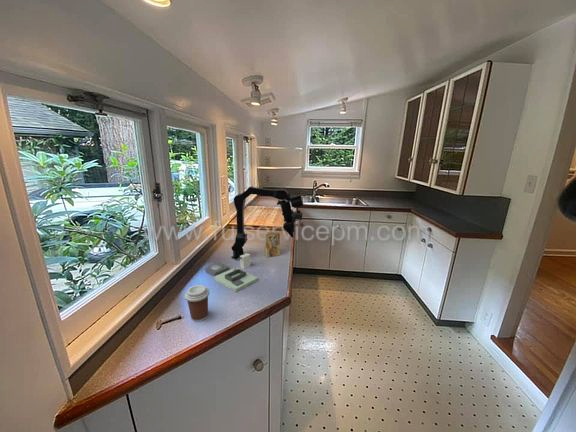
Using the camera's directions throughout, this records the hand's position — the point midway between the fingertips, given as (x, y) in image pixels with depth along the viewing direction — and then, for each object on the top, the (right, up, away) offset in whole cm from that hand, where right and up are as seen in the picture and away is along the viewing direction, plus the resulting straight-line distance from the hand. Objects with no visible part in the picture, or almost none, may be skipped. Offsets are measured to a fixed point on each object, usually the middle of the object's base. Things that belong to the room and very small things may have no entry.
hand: (293, 234), depth 145 cm
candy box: (-13, -14, +8) cm, 21 cm away
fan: (-42, -19, -13) cm, 48 cm away
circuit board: (-30, -22, -21) cm, 43 cm away
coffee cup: (-38, -29, -49) cm, 68 cm away
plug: (-28, -18, -8) cm, 34 cm away
